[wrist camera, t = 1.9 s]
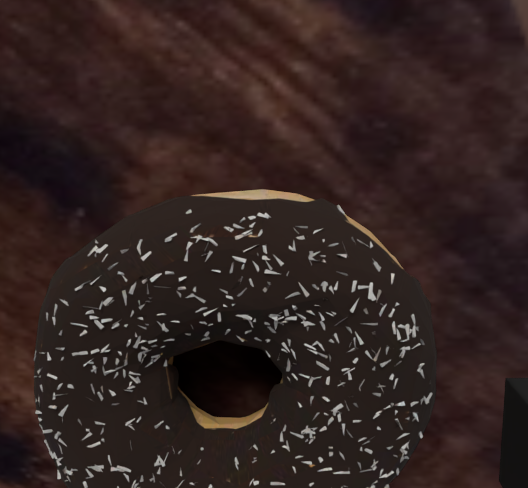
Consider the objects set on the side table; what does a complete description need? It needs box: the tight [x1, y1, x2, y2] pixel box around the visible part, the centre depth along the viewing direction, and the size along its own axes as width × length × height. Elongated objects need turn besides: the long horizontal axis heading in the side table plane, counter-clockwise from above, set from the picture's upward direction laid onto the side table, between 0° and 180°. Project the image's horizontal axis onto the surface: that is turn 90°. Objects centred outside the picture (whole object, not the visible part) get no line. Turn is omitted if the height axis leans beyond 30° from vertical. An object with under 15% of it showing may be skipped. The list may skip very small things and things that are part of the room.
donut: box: [34, 189, 437, 488], centre depth 14 cm, size 11×12×4 cm
